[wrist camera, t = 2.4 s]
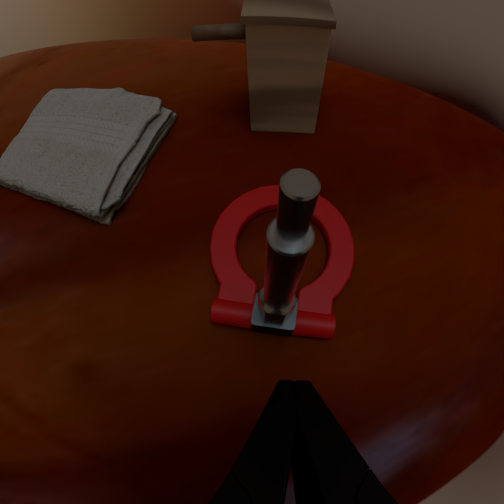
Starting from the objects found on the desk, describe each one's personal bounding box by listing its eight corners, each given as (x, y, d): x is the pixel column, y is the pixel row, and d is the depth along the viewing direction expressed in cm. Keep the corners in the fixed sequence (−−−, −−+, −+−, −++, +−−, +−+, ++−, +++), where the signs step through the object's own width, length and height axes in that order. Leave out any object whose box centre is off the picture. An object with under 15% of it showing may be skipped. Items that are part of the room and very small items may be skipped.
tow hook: (227, 187, 23) (196, 323, 19) (202, 5, 10) (85, 196, 6) (351, 204, 22) (343, 344, 18) (418, 34, 9) (492, 253, 6)
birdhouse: (316, 135, 24) (336, 21, 14) (203, 133, 24) (178, 20, 14) (312, 92, 26) (325, -10, 16) (212, 90, 26) (195, -10, 16)
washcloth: (119, 233, 22) (101, 214, 19) (-4, 189, 24) (-21, 174, 22) (185, 116, 26) (178, 90, 23) (54, 104, 28) (43, 86, 25)
